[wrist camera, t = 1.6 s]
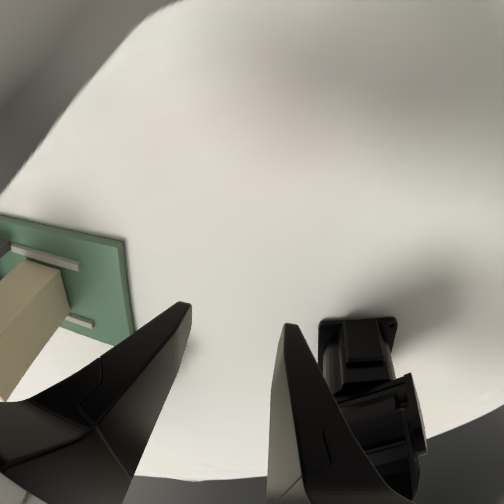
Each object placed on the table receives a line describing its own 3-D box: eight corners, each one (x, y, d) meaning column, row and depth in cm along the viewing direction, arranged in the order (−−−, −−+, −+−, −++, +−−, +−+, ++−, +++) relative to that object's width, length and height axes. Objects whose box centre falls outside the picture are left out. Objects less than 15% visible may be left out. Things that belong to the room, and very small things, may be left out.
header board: (123, 241, 23) (79, 291, 18) (136, 344, 30) (110, 394, 24) (-21, 210, 24) (-61, 239, 19) (5, 296, 31) (-25, 328, 25)
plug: (59, 270, 24) (-31, 375, 13) (70, 311, 27) (-2, 413, 16) (23, 258, 25) (-63, 348, 13) (36, 298, 27) (-36, 387, 16)
